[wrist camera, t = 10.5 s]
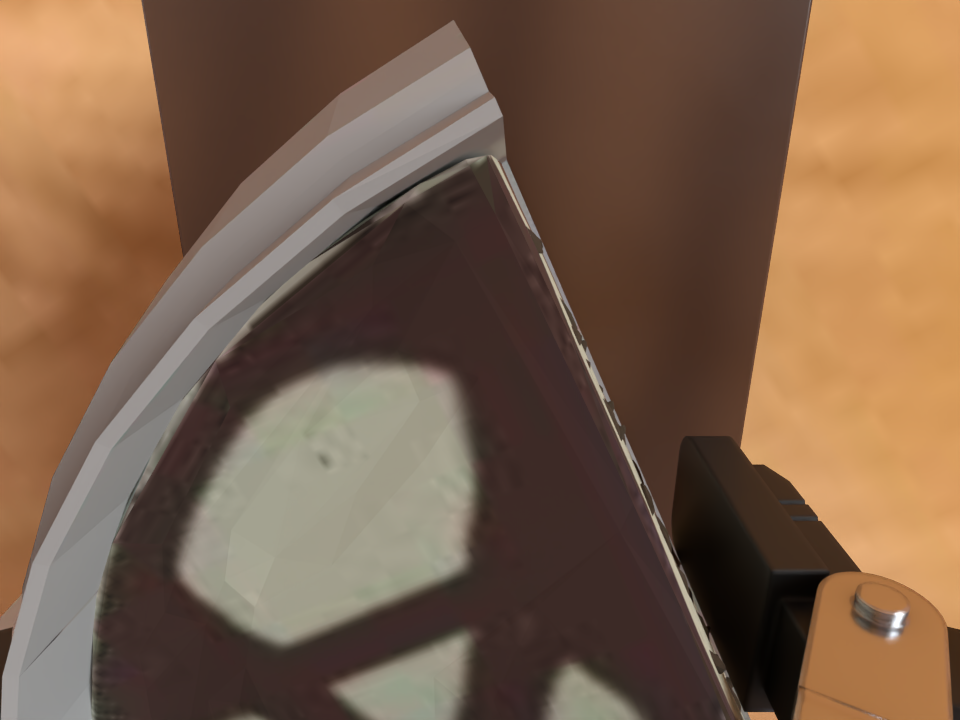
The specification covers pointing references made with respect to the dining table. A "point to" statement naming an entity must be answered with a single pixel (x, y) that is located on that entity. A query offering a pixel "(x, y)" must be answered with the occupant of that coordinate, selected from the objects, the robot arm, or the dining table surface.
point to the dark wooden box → (549, 160)
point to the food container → (362, 461)
